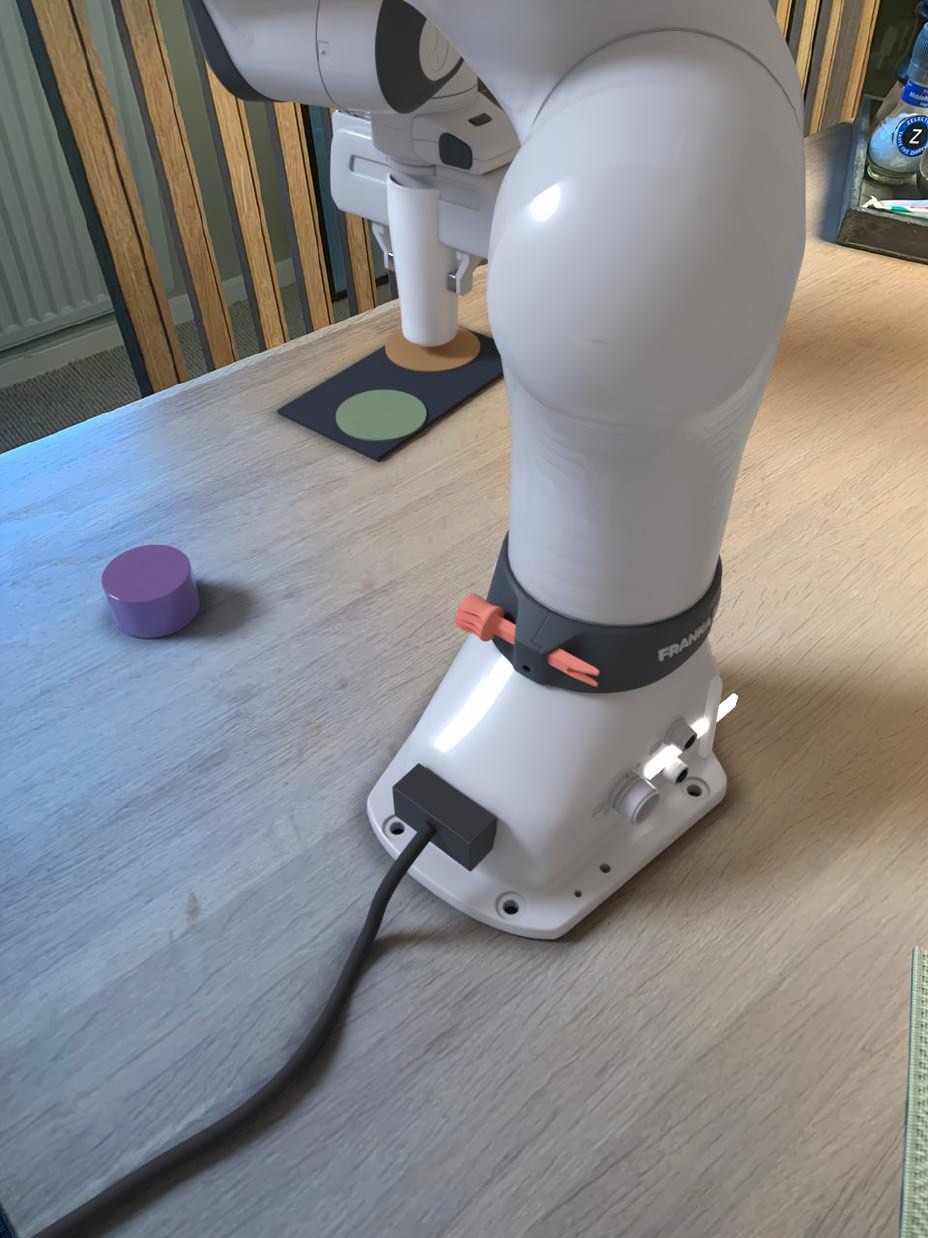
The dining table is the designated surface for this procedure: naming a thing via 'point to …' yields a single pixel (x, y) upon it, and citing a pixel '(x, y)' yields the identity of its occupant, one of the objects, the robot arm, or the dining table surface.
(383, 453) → the placemat
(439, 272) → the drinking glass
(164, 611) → the purple cylinder puck
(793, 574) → the dining table surface
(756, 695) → the dining table surface
